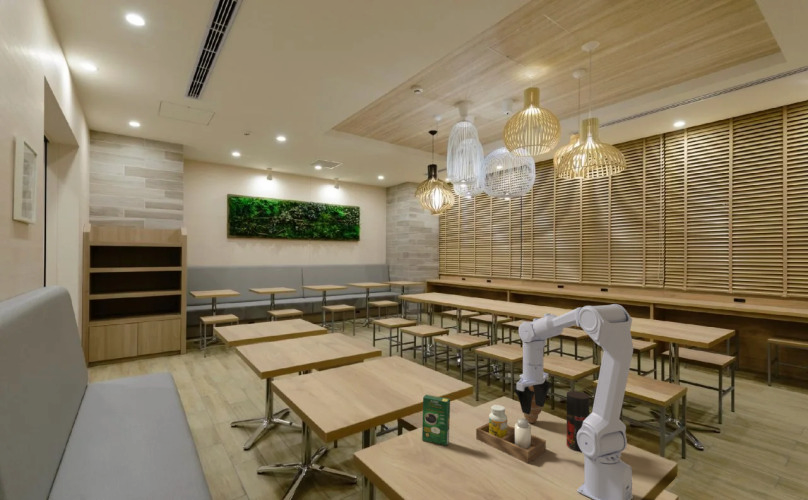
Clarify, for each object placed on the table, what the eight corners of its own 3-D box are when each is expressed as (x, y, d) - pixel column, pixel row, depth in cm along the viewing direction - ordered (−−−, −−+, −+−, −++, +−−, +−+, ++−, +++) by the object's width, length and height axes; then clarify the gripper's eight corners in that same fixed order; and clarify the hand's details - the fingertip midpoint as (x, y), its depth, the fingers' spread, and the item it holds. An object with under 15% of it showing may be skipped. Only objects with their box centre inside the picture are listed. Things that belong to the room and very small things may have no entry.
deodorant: (591, 453, 105) (591, 399, 105) (569, 450, 106) (569, 398, 106) (585, 442, 110) (585, 392, 111) (564, 440, 112) (564, 390, 112)
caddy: (545, 450, 106) (545, 440, 106) (527, 463, 100) (528, 452, 100) (494, 429, 119) (494, 419, 119) (476, 438, 112) (476, 429, 112)
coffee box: (450, 442, 111) (450, 397, 111) (447, 446, 108) (447, 401, 108) (425, 436, 114) (425, 393, 114) (421, 441, 111) (421, 397, 111)
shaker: (534, 451, 106) (534, 421, 106) (524, 456, 103) (524, 425, 103) (520, 445, 109) (520, 415, 109) (511, 449, 106) (511, 420, 106)
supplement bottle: (511, 441, 111) (511, 409, 111) (497, 445, 109) (497, 412, 109) (498, 433, 116) (498, 402, 116) (485, 437, 113) (485, 406, 113)
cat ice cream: (544, 430, 118) (544, 373, 118) (518, 426, 121) (518, 370, 121) (543, 418, 127) (543, 365, 127) (519, 415, 129) (519, 363, 129)
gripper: (533, 355, 117) (533, 398, 117) (507, 364, 107) (507, 411, 107) (555, 360, 112) (555, 405, 112) (529, 370, 102) (529, 420, 102)
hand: (533, 409), depth 109 cm, fingers open, 7 cm apart
